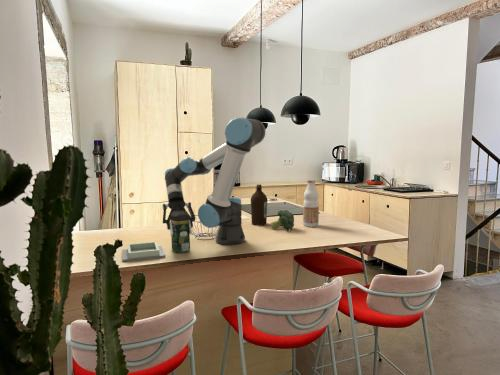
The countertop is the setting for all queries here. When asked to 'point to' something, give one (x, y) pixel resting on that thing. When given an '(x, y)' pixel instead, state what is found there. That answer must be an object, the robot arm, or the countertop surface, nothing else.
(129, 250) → the jar dock
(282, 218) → the vegetable
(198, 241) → the countertop surface
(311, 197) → the fruit juice
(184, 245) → the coffee jar
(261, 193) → the olive oil
